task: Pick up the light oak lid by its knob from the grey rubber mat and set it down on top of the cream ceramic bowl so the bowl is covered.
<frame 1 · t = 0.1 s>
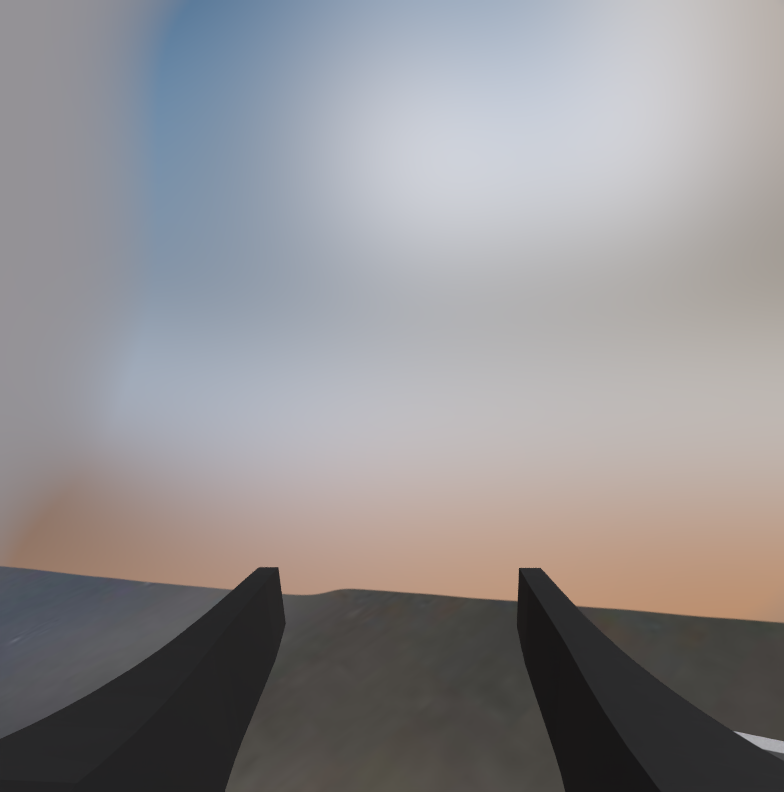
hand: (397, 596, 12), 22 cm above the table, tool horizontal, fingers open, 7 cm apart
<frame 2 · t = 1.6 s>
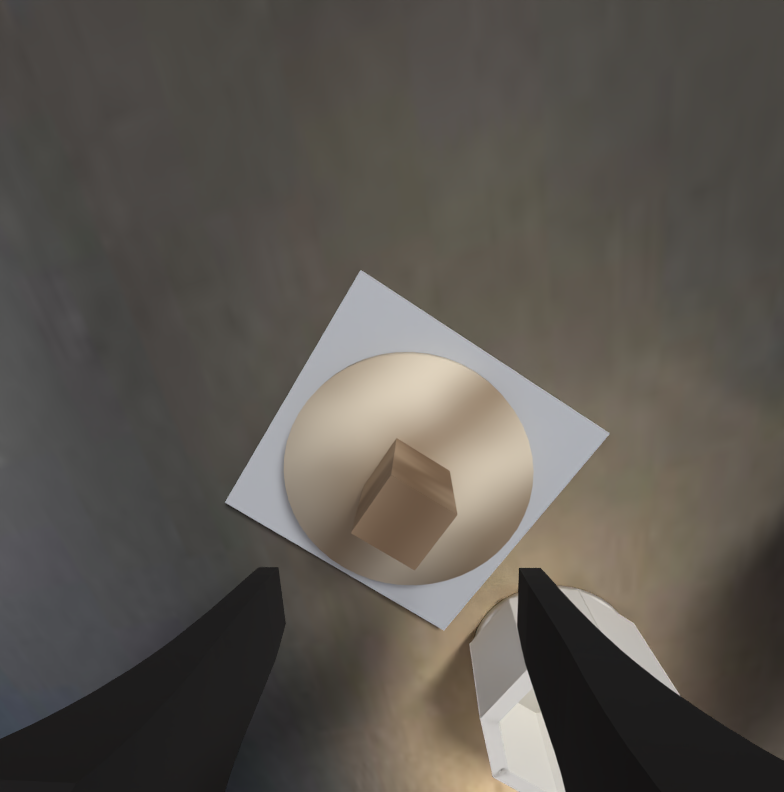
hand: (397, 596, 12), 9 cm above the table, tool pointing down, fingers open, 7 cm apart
bowl: (550, 651, 24), on the table
lid: (406, 469, 21), resting on mat
mat: (407, 465, 21), on the table
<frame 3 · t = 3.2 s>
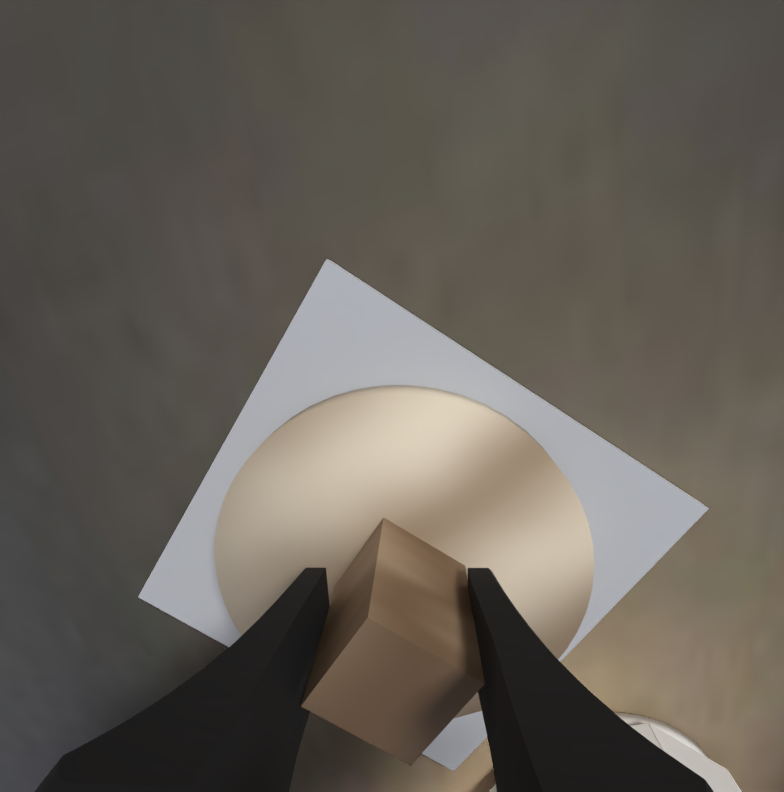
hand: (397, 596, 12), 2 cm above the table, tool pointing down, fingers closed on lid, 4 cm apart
lid: (400, 556, 14), resting on mat, touching gripper
mat: (400, 547, 15), on the table
when the fingers open (8 cm above the table, at t = 6.7 s): lid stays where it is, resting on bowl.
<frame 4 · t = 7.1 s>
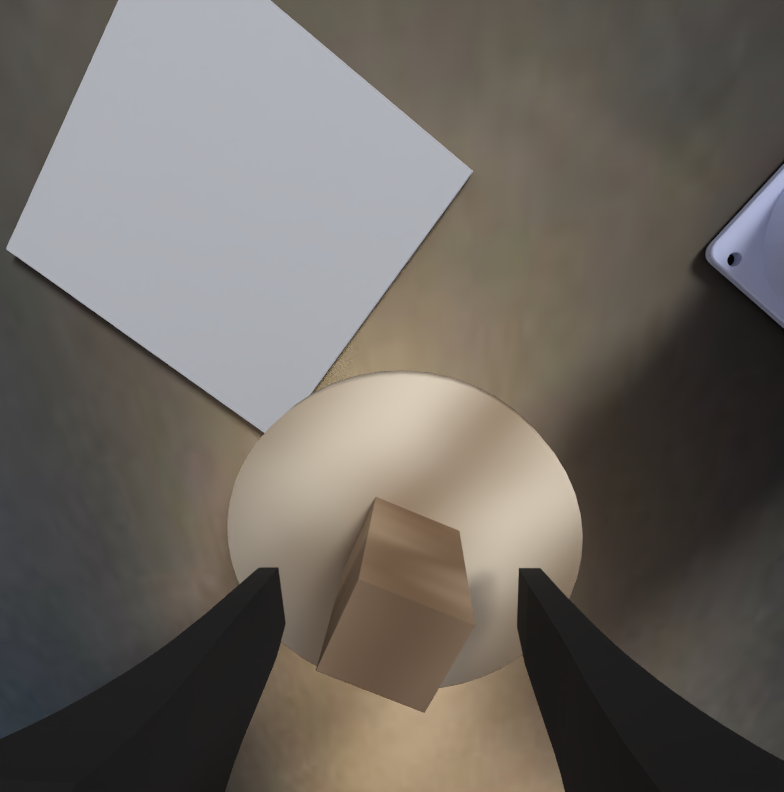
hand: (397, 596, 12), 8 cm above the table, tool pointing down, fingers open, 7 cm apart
lid: (401, 533, 15), point 5 cm above the table, touching bowl
mat: (231, 214, 17), on the table
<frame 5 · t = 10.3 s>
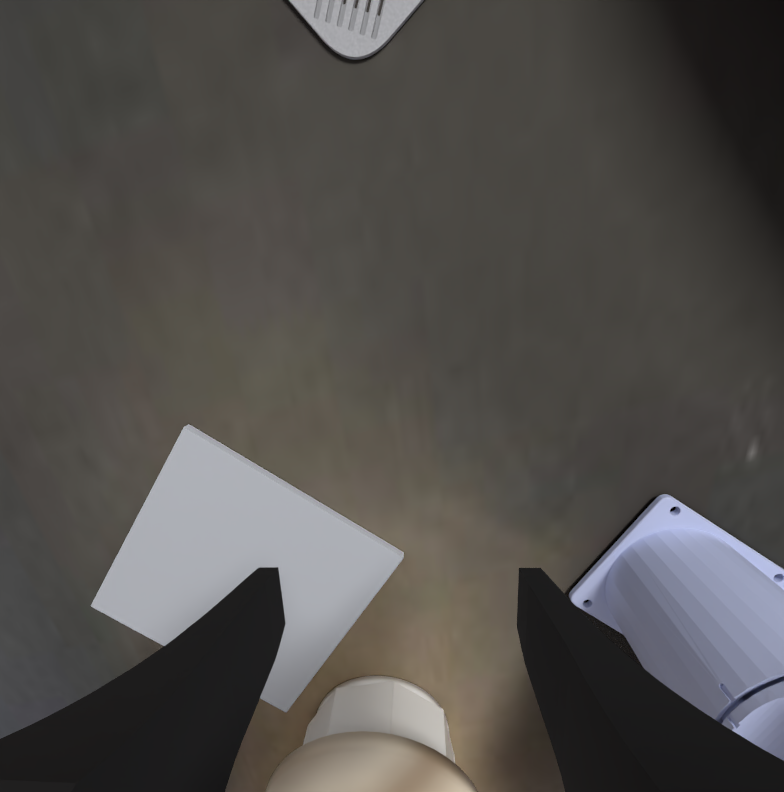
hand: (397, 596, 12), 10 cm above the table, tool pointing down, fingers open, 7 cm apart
bowl: (381, 729, 27), on the table
mat: (243, 577, 25), on the table
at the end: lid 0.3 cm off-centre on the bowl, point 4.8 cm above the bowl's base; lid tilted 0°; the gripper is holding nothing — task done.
